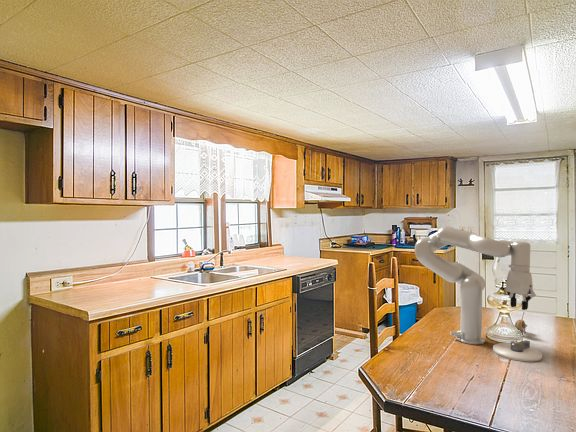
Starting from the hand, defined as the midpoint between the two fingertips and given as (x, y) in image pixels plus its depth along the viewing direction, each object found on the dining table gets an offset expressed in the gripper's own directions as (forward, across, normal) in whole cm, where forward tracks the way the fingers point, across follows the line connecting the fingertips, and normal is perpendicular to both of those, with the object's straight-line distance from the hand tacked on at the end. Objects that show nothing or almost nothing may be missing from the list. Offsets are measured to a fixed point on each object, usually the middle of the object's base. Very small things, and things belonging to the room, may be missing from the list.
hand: (519, 307), depth 183 cm
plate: (+19, +3, -6) cm, 20 cm away
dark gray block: (+18, +3, -3) cm, 18 cm away
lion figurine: (+20, -13, +23) cm, 33 cm away
